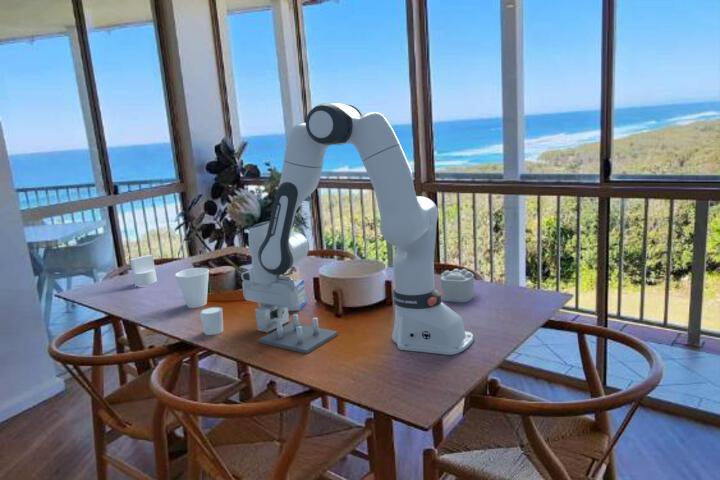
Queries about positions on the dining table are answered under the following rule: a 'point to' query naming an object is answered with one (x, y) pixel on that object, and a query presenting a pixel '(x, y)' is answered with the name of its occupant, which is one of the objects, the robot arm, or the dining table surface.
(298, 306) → the medicine box
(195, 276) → the cup
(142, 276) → the base with upright slab
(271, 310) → the drive
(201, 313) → the white short cylinder
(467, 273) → the bowl of white balls
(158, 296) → the dining table surface
